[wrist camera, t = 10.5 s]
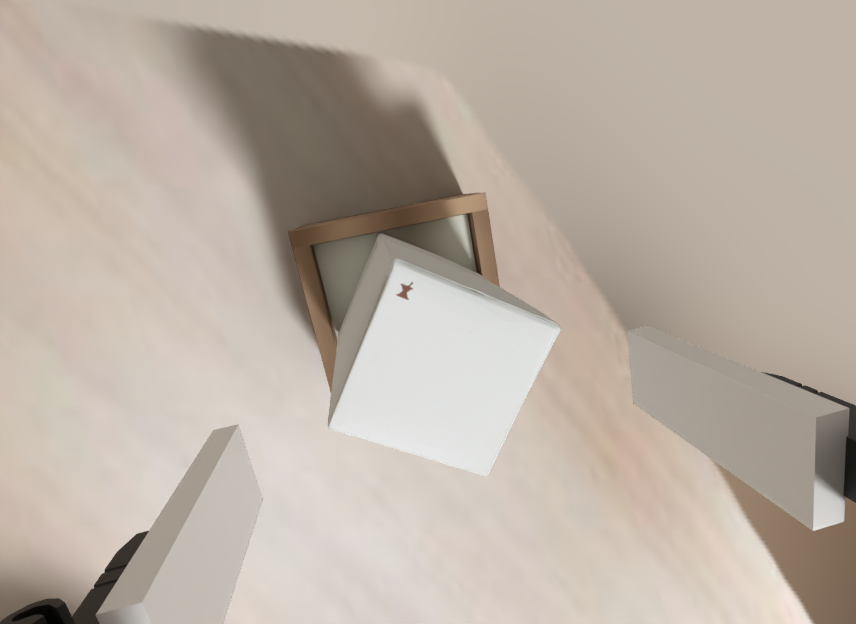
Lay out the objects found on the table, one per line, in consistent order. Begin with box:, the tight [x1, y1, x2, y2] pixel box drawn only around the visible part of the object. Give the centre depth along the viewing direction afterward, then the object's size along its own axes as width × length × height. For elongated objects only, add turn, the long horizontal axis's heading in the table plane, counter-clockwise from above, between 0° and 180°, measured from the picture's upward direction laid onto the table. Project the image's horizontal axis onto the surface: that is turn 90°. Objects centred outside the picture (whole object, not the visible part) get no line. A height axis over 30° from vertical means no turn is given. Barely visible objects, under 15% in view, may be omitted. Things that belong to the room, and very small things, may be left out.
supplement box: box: [328, 232, 561, 476], centre depth 24 cm, size 7×7×13 cm
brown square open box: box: [288, 193, 500, 391], centre depth 32 cm, size 12×12×6 cm
